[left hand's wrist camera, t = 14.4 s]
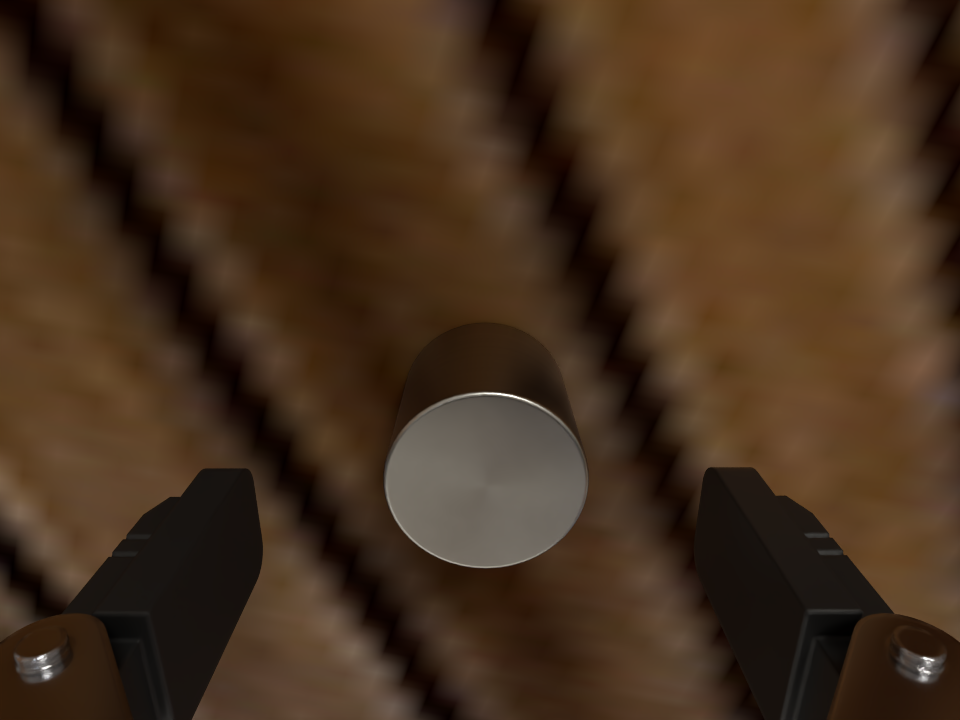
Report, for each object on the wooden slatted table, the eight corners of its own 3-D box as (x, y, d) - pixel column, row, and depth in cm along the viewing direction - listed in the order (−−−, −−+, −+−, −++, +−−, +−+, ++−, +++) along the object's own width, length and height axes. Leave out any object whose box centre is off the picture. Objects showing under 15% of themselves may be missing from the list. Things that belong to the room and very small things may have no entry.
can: (513, 291, 15) (524, 353, 11) (592, 420, 16) (625, 515, 12) (374, 372, 16) (341, 456, 12) (459, 490, 17) (453, 599, 13)
